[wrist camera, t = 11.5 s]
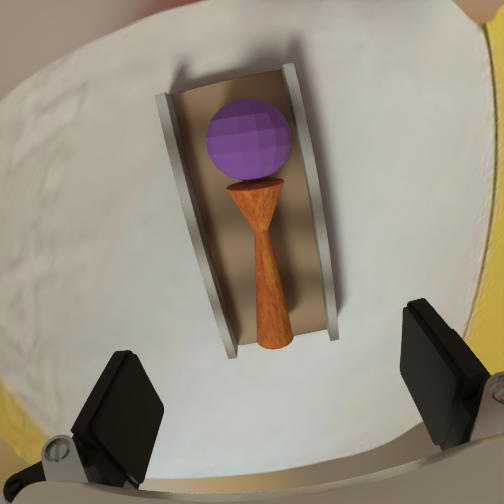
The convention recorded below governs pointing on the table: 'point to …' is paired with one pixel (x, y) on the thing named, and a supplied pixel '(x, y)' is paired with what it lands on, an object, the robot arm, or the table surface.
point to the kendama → (256, 196)
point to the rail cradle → (234, 222)
